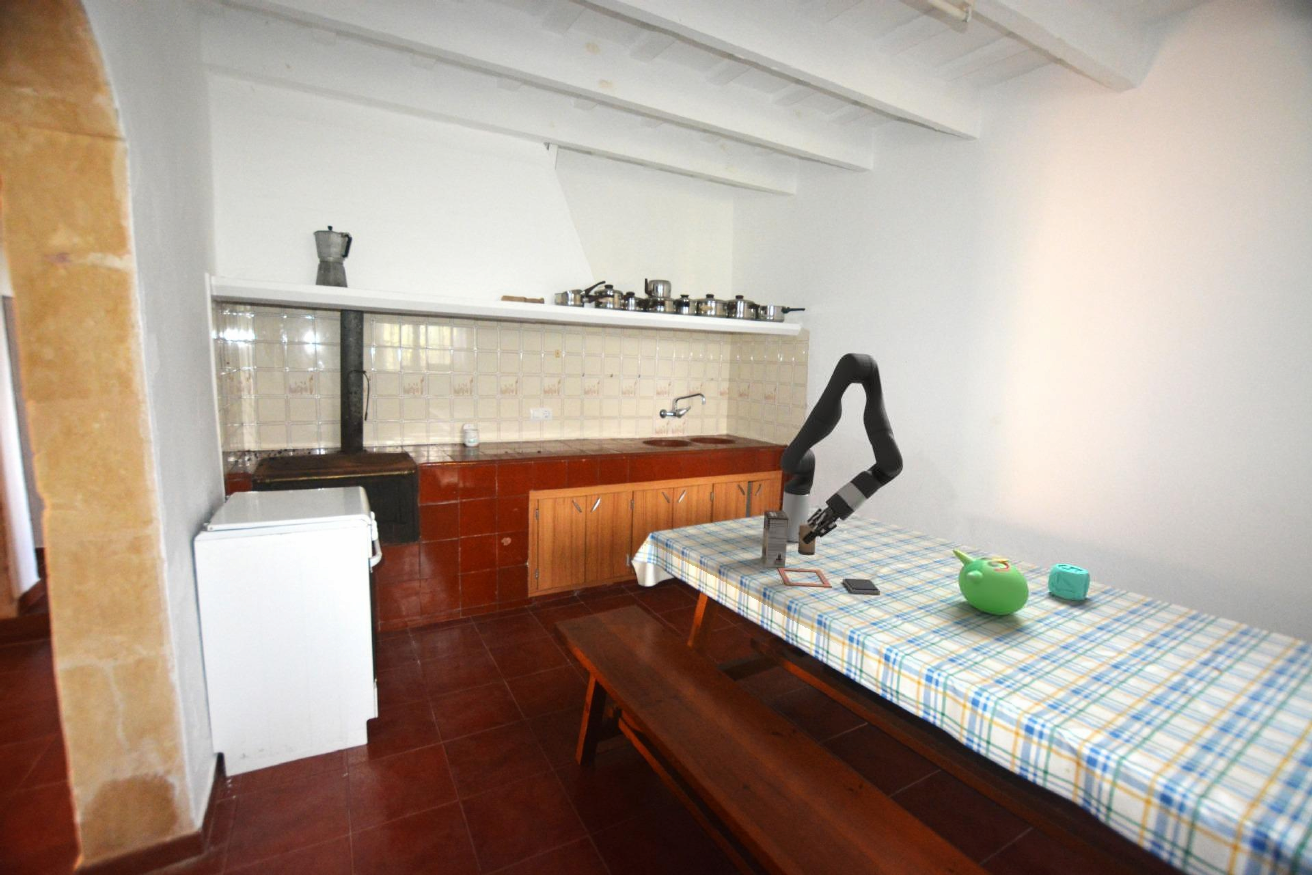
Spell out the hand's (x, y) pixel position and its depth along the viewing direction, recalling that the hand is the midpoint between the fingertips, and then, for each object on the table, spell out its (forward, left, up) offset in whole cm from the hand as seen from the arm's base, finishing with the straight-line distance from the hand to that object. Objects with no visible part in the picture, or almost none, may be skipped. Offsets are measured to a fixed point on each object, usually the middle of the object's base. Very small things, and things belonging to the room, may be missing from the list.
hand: (802, 539), depth 169 cm
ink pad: (+6, +16, -12) cm, 21 cm away
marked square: (0, +1, -12) cm, 12 cm away
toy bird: (+17, +46, -12) cm, 51 cm away
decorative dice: (+4, +76, -12) cm, 77 cm away
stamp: (0, +1, -4) cm, 4 cm away
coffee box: (-12, -6, -12) cm, 18 cm away
